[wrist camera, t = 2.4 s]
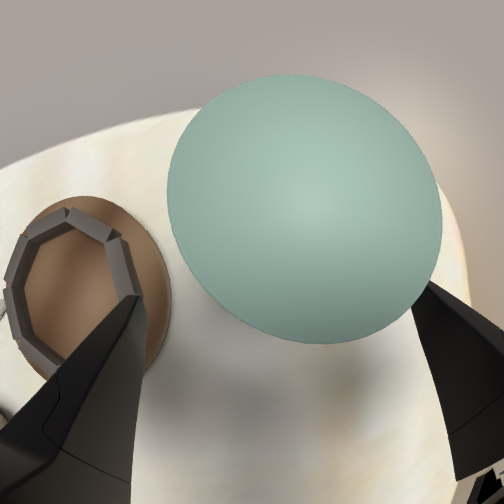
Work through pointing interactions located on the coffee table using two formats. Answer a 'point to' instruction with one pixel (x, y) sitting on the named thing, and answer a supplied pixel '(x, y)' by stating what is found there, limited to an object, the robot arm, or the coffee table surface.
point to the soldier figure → (2, 308)
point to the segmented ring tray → (81, 279)
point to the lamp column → (304, 209)
